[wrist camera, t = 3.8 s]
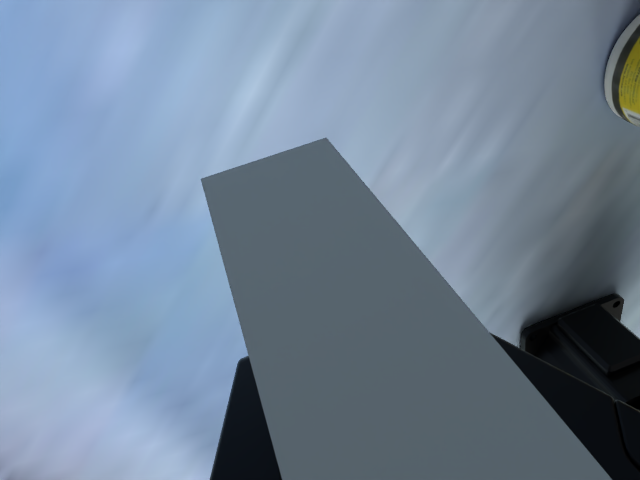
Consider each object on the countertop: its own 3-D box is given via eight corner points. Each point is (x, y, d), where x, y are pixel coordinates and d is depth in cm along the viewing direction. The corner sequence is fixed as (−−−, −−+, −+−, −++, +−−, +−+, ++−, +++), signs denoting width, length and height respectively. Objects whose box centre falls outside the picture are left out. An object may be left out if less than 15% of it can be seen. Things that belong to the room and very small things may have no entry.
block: (369, 338, 12) (656, 856, 6) (276, 374, 12) (464, 964, 5) (326, 137, 9) (828, 736, 3) (200, 178, 9) (415, 967, 2)
